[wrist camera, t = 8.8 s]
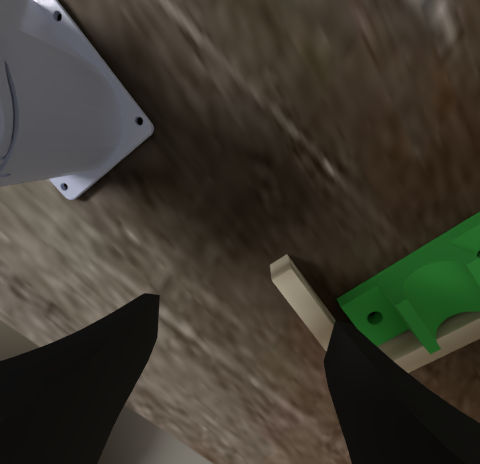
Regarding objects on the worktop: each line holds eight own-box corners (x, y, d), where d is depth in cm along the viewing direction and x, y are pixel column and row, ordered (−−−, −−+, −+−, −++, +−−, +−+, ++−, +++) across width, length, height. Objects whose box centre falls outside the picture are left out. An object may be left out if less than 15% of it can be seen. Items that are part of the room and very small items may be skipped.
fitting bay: (264, 268, 21) (265, 284, 18) (544, 89, 16) (593, 80, 14) (344, 372, 23) (354, 398, 21) (606, 240, 19) (656, 254, 17)
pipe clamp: (531, 225, 15) (564, 286, 16) (478, 210, 19) (508, 260, 20) (351, 330, 18) (389, 377, 19) (335, 299, 21) (367, 340, 22)
